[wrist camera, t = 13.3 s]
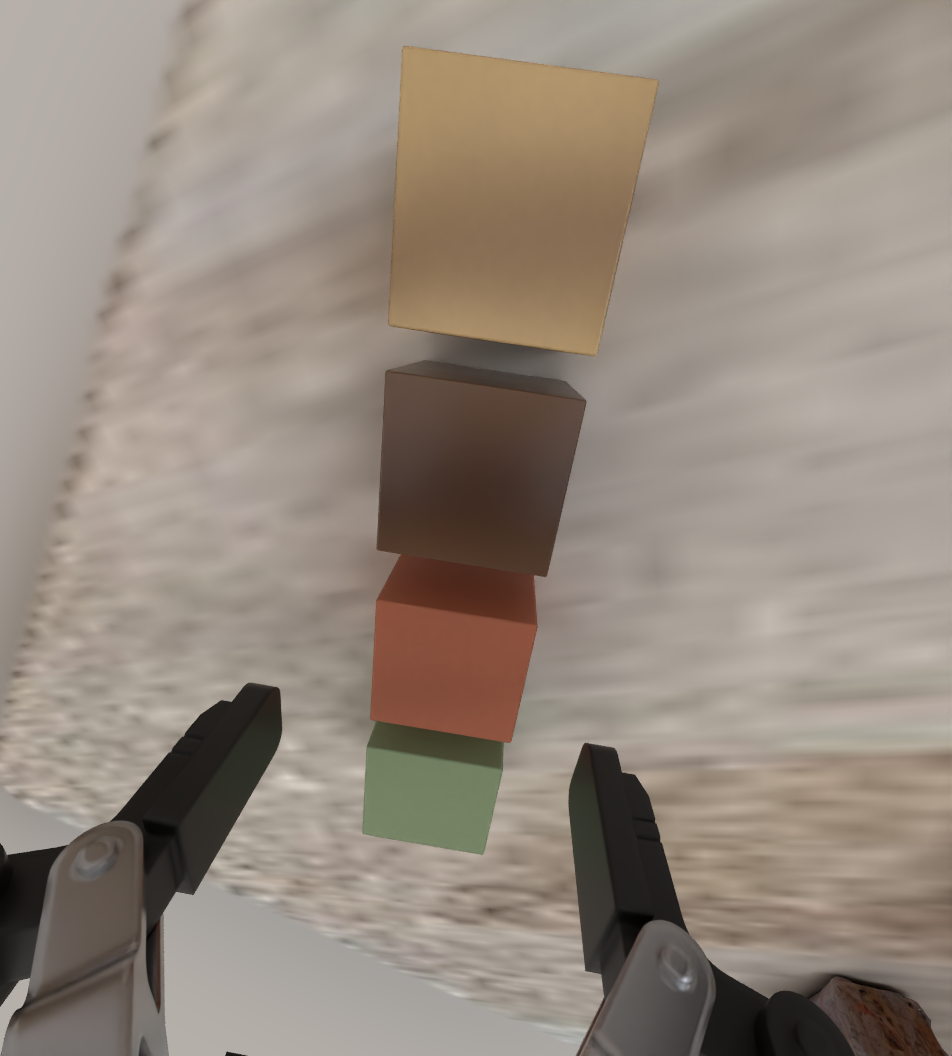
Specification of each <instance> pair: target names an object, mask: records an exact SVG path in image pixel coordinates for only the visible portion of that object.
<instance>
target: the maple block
mask: <svg viewBox="0 0 952 1056" xmlns="http://www.w3.org/2000/svg"><path fill="white" fill-rule="evenodd" d="M658 85H659V83H658V80H657V79H649V78H642V77H634V76H627V75H619V74H612V73H604V72H597V71H589V70H582V69H574V68H567V67H559V66H552V65H544V64H537V63H529V62H522V61H514V60H507V59H499V58H492V57H484V56H477V55H469V54H462V53H454V52H447V51H439V50H432V49H424V48H417V47H409V46H403V49H402V63H401V83H400V103H399V122H398V142H397V161H396V181H395V201H394V220H393V240H392V260H391V279H390V299H389V318H388V324H389V326H392V327H398V328H405V329H412V330H419V331H425V332H432V333H439V334H446V335H453V336H459V337H466V338H473V339H480V340H486V341H493V342H500V343H507V344H514V345H520V346H527V347H534V348H541V349H547V350H554V351H561V352H568V353H575V354H581V355H588V356H596V355H597V353H598V349H599V345H600V340H601V336H602V331H603V327H604V323H605V318H606V314H607V309H608V305H609V301H610V296H611V292H612V287H613V283H614V279H615V274H616V270H617V265H618V261H619V257H620V252H621V248H622V243H623V239H624V235H625V230H626V226H627V221H628V217H629V213H630V208H631V204H632V199H633V195H634V191H635V186H636V182H637V177H638V173H639V169H640V164H641V160H642V155H643V151H644V147H645V142H646V138H647V133H648V129H649V125H650V120H651V116H652V111H653V107H654V103H655V98H656V94H657V89H658Z"/></svg>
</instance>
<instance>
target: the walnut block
mask: <svg viewBox="0 0 952 1056" xmlns="http://www.w3.org/2000/svg"><path fill="white" fill-rule="evenodd" d="M585 407H586V400H585V399H584V398H583V397H582V396H581V395H580V394H578V393H577V392H576V391H575V390H574V389H573V388H572V387H571V386H570V385H569V384H568V383H567V382H565V381H560V380H553V379H546V378H540V377H533V376H526V375H520V374H513V373H506V372H499V371H493V370H486V369H479V368H473V367H466V366H459V365H452V364H446V363H439V362H432V361H426V360H424V361H421V362H417V363H413V364H409V365H406V366H402V367H398V368H395V369H391V370H387V371H386V374H385V394H384V413H383V433H382V453H381V473H380V492H379V512H378V532H377V550H379V551H386V552H392V553H398V554H405V555H411V556H417V557H423V558H430V559H436V560H442V561H449V562H455V563H461V564H468V565H474V566H480V567H486V568H493V569H499V570H505V571H512V572H518V573H524V574H530V575H537V576H543V577H546V576H547V574H548V570H549V565H550V561H551V556H552V552H553V548H554V543H555V539H556V534H557V530H558V526H559V521H560V517H561V512H562V508H563V504H564V499H565V495H566V490H567V486H568V482H569V477H570V473H571V468H572V464H573V460H574V455H575V451H576V446H577V442H578V438H579V433H580V429H581V424H582V420H583V416H584V411H585Z"/></svg>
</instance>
